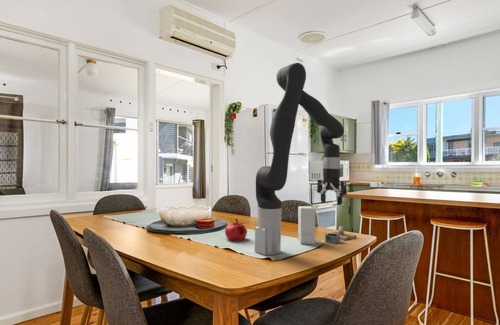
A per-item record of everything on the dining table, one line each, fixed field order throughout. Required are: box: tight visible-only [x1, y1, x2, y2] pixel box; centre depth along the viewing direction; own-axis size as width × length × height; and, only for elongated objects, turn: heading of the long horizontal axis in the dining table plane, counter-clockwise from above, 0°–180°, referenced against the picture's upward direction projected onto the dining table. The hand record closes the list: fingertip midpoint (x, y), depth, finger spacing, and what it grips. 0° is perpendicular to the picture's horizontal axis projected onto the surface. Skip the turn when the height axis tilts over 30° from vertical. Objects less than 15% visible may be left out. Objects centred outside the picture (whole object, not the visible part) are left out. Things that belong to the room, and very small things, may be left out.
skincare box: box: [297, 205, 316, 245], centre depth 136 cm, size 8×7×16 cm
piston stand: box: [332, 225, 357, 242], centre depth 148 cm, size 10×10×5 cm
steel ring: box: [324, 232, 341, 245], centre depth 138 cm, size 6×6×3 cm
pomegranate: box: [224, 217, 248, 242], centre depth 138 cm, size 10×10×9 cm
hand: (331, 203), depth 138 cm, fingers open, 8 cm apart
